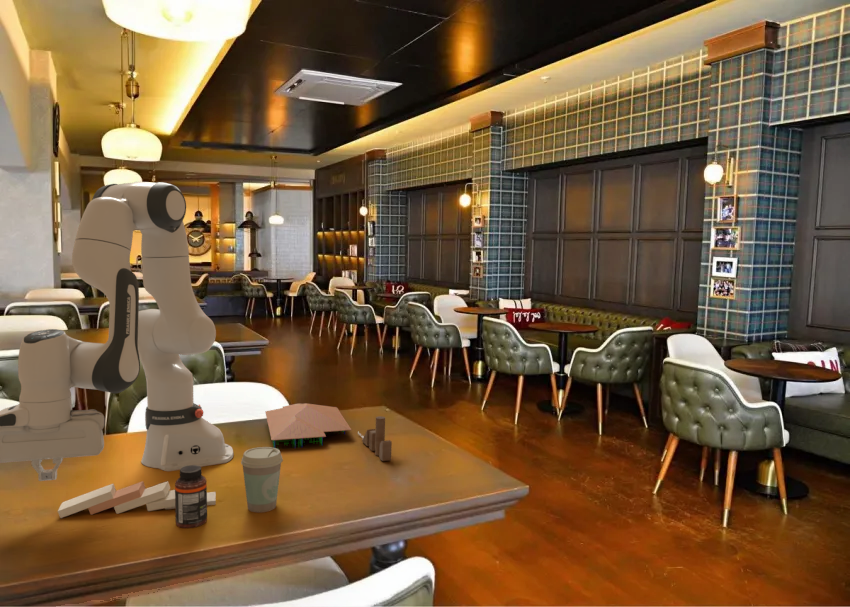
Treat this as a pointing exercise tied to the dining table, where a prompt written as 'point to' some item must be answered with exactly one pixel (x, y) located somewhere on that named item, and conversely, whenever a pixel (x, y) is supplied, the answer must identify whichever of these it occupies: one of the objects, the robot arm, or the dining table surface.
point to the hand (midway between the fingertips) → (47, 479)
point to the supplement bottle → (191, 497)
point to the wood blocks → (378, 440)
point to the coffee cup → (261, 477)
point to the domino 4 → (210, 499)
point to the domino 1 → (120, 497)
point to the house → (304, 422)
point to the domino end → (86, 500)
